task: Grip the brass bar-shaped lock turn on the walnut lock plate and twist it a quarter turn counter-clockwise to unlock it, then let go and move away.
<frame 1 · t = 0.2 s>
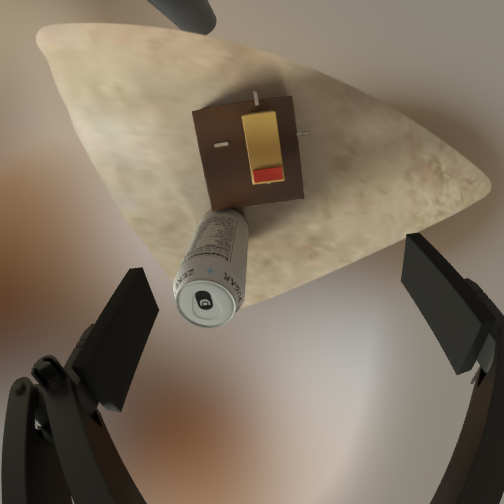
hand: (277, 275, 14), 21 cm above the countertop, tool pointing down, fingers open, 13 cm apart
energy drink can: (224, 227, 36), on the countertop
lock plate: (250, 150, 31), on the countertop
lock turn: (263, 142, 24), point 7 cm above the countertop, hinge at 0.0°
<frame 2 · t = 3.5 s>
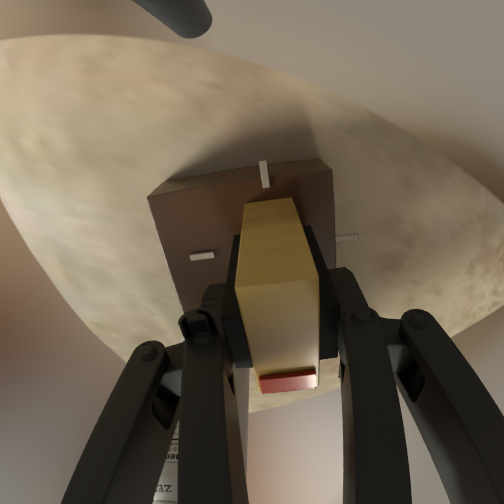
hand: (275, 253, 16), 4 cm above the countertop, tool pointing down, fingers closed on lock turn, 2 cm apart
energy drink can: (215, 343, 25), on the countertop
lock plate: (252, 248, 20), on the countertop
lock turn: (278, 286, 13), point 7 cm above the countertop, hinge at -0.1°, touching gripper
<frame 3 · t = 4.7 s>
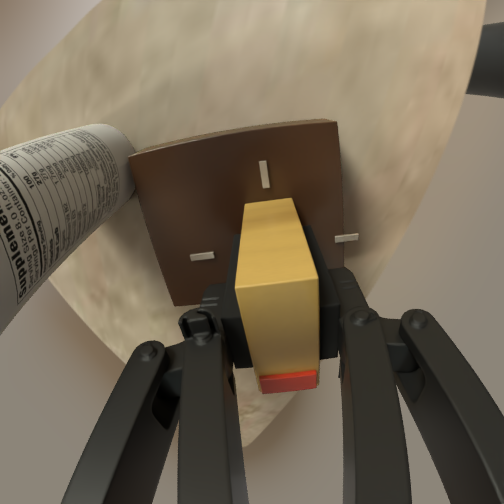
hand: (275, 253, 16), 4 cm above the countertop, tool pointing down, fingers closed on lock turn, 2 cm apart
energy drink can: (105, 165, 17), on the countertop
lock plate: (245, 206, 18), on the countertop
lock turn: (278, 287, 13), point 7 cm above the countertop, hinge at 90.0°, touching gripper
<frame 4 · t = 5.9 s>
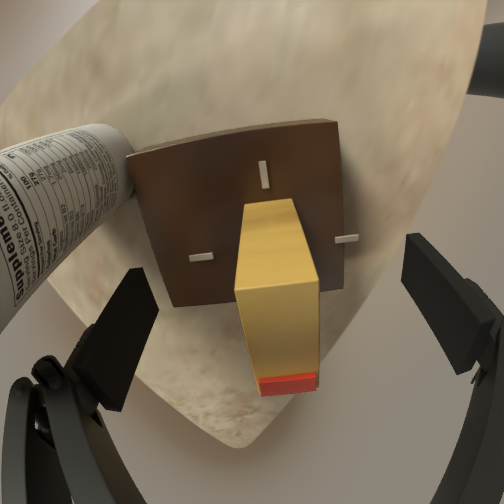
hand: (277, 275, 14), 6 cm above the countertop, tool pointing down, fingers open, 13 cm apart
energy drink can: (104, 165, 17), on the countertop
lock plate: (245, 207, 18), on the countertop
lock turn: (278, 288, 13), point 7 cm above the countertop, hinge at 89.8°
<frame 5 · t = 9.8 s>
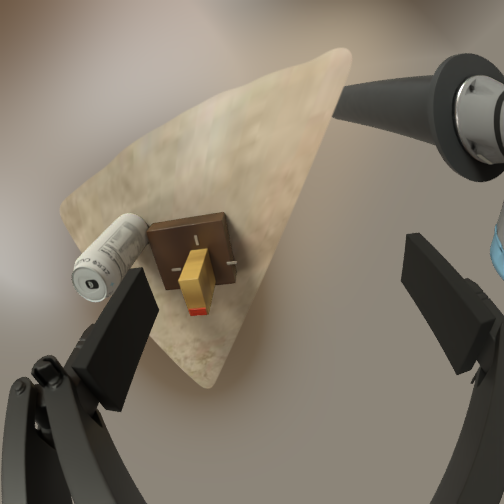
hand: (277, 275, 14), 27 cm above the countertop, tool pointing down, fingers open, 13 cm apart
energy drink can: (134, 228, 42), on the countertop
lock plate: (194, 248, 43), on the countertop
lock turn: (198, 281, 38), point 7 cm above the countertop, hinge at 89.8°
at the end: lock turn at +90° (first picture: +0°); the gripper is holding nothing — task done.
